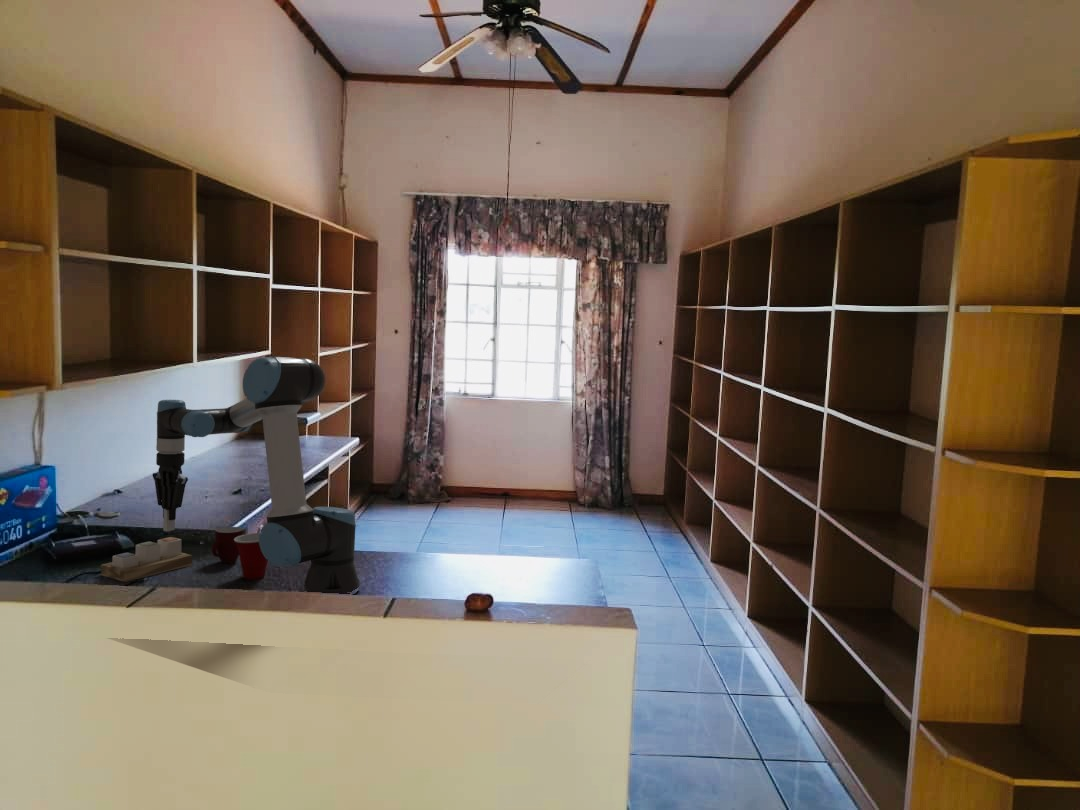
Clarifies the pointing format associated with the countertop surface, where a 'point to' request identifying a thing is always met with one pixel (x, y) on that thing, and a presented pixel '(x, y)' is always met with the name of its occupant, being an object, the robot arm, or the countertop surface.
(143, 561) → the beige wooden cube
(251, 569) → the plastic cup
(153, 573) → the keypad board
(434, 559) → the countertop surface
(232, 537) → the mug
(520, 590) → the countertop surface
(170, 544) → the beige cube
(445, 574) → the countertop surface
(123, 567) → the off-white cube
